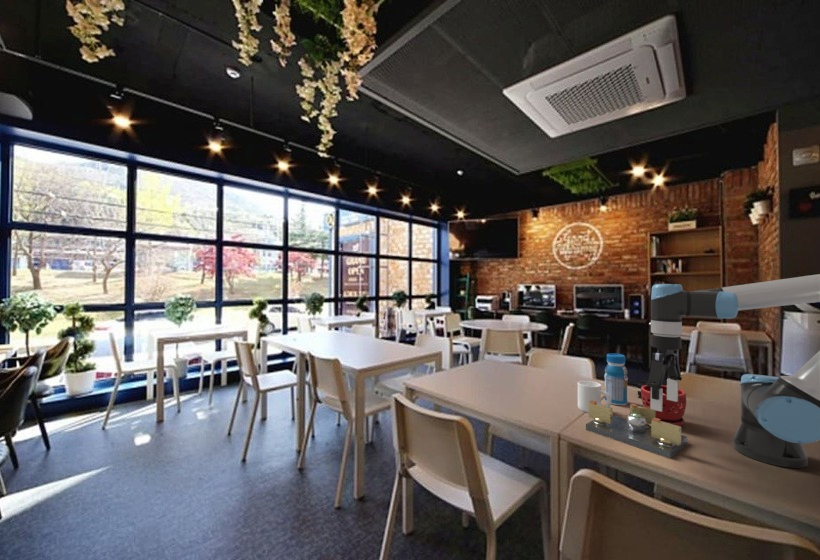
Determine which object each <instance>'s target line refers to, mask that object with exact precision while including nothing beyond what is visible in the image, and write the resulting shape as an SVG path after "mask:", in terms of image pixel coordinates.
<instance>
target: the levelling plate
mask: <svg viewBox="0 0 820 560" xmlns="http://www.w3.org/2000/svg"><path fill="white" fill-rule="evenodd" d="M588 430H589V431H588ZM585 431H588V432H591V431H592V433H594V432H595V434H597V435H600V436H602V437H605V438H609V437H610V438H609V439H611V438H613V439H612V440H614V439H615V441H617V440H618V441H617V442H620V441H621V442H620V443H623V442H624V444H626V443H627V444H626V445H629V446H633V447H635V448H639V449H641V450H643V451H646V452H649V453H653V454H655V455H659V456H662V457H664V458H667V459H672V458H673V457H674V456H676V454H677V453H679V451H681V450H682V449H683V448H684V447H685V446H687V445H688V442H689V441H688V440H689V436H687V435H683V434H681V444H680V445H676V444H672V445H666V444H663V443H661V442H660V441H659V439H657V438H654V437H651V424H648V426H646V418H645V417H644V416H641V415H640V414H638V413H632V414H630V413H628V414H627V418H624V417H622V416H619V415H614V414H612V423H611V424H609V423H605V424H600V423H597V422H595V419H593V420H591V421H589V422H587V423H585Z"/></svg>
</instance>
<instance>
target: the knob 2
mask: <svg viewBox="0 0 820 560" xmlns="http://www.w3.org/2000/svg"><path fill="white" fill-rule="evenodd" d="M650 426H651V437H654V438H657V439H659V441H660V442H661V443H663V444H666V445H672V444H676V445H680V444H681V435H682V426H677V425H673V424H669V423H666V422H662V421H660V419H658V418H655V417H654V418H653V419H652V421H651V424H650Z"/></svg>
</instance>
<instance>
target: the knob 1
mask: <svg viewBox="0 0 820 560" xmlns="http://www.w3.org/2000/svg"><path fill="white" fill-rule="evenodd" d="M604 405H605V404H604ZM604 405H603V404H601V405H600V404H597V403H596V401H589V413H588V418H591V419H593V420H595V422H597V423H600V424H605V423H609V424H611V423H612V415H613V407H611V406H610V407H608V406H604Z"/></svg>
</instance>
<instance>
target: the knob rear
mask: <svg viewBox="0 0 820 560" xmlns="http://www.w3.org/2000/svg"><path fill="white" fill-rule="evenodd" d="M632 413H638V414H640V415H641V416H644V417H645V418H646V426H648V424H649V425H651V421H652V419H653V418H654V417H655V410H653V409H650V407H644V406H640V405H637V404H636V403H630V404H629V414H632Z"/></svg>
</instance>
